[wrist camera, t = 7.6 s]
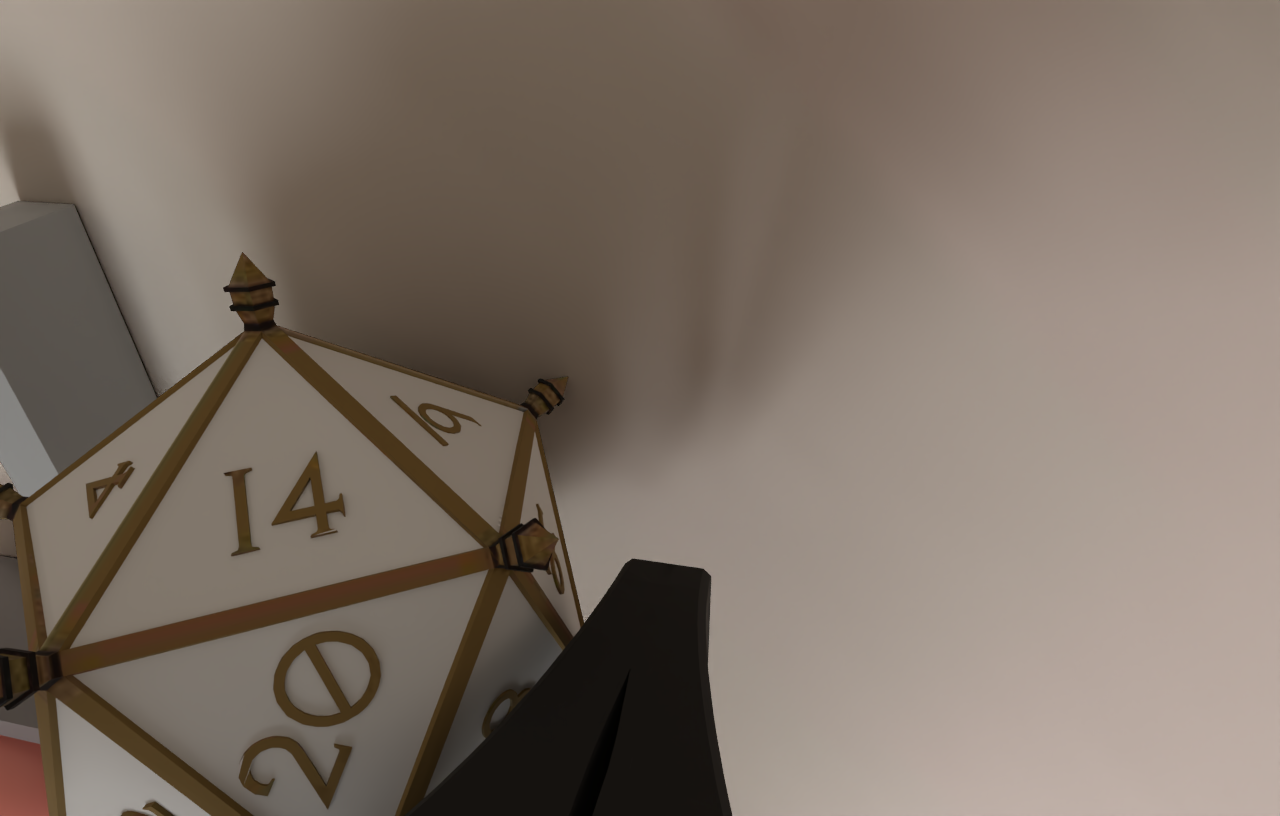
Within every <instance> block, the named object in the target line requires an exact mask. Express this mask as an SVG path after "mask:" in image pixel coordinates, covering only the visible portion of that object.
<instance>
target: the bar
mask: <svg viewBox="0 0 1280 816" xmlns="http://www.w3.org/2000/svg"><path fill="white" fill-rule="evenodd" d="M156 399H157V397H156V395H155V392H154V390H153V388H152V385H151V383H150V381H149V378H148V376H147V374H146V371H145V369H144V367H143V364H142V362H141V360H140V357H139V355H138V353H137V350H136V348H135V346H134V343H133V341H132V339H131V336H130V334H129V332H128V329H127V327H126V325H125V322H124V320H123V318H122V315H121V313H120V311H119V308H118V306H117V304H116V301H115V299H114V297H113V294H112V292H111V290H110V287H109V285H108V283H107V280H106V278H105V276H104V273H103V271H102V269H101V267H100V264H99V262H98V260H97V257H96V255H95V253H94V250H93V248H92V246H91V243H90V241H89V239H88V236H87V234H86V232H85V229H84V227H83V225H82V222H81V220H80V218H79V215H78V213H77V211H76V208H75V206H74V204H58V203H41V202H23V201H17V202H14V203H11V204H8V205H5V206H2V207H0V462H1V463H2V465H3V467H4V468H5V470H6V472H7V473H8V475H9V477H10V479H11V480H12V482H13V484H14V485H15V487H16V489H17V490H18V492H19V494H20V495H21V496H24V497H30V496H31V495H32V494H34V493H35V492H36V491H38V490H39V489H40V488H41V487H43V486H44V485H45V484H47V483H48V482H49V481H51V480H52V479H53V478H54V477H56V476H57V475H58V474H60V473H61V472H62V471H64V470H65V469H66V468H67V467H69V466H70V465H71V464H73V463H74V462H75V461H76V460H78V459H79V458H80V457H82V456H83V455H84V454H86V453H87V452H88V451H89V450H91V449H92V448H93V447H95V446H96V445H97V444H99V443H100V442H101V441H102V440H104V439H105V438H106V437H108V436H109V435H110V434H112V433H113V432H114V431H115V430H117V429H118V428H119V427H121V426H122V425H123V424H124V423H126V422H127V421H128V420H130V419H131V418H132V417H134V416H135V415H136V414H137V413H139V412H140V411H141V410H143V409H144V408H145V407H147V406H148V405H149V404H150V403H152V402H153V401H154V400H156Z"/></svg>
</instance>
